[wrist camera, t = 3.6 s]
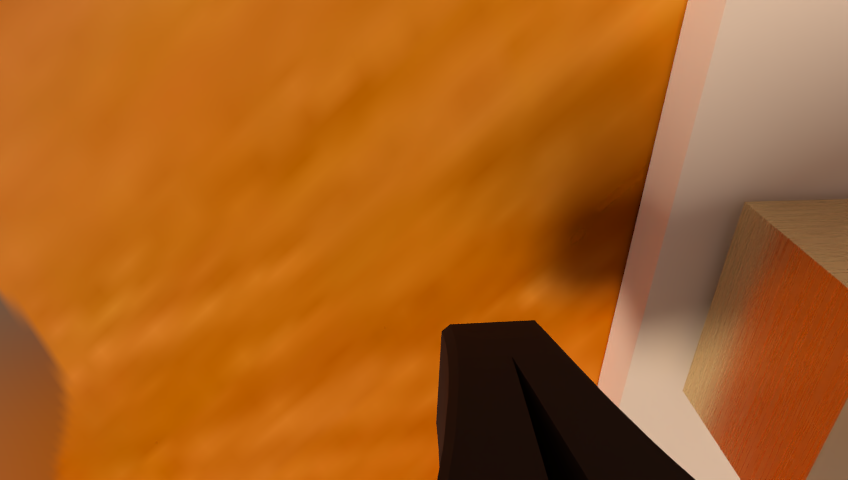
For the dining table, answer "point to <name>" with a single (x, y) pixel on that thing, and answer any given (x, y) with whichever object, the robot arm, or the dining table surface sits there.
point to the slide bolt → (779, 344)
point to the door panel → (721, 191)
